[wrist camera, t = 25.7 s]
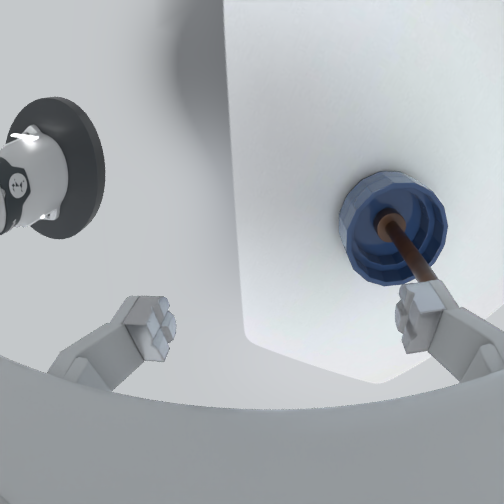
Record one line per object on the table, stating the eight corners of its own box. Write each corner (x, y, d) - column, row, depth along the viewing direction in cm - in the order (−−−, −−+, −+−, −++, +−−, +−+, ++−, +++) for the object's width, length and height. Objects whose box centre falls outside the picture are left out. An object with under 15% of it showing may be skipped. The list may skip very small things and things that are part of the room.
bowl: (337, 266, 42) (344, 289, 37) (337, 171, 35) (346, 184, 30) (422, 259, 40) (436, 280, 34) (432, 170, 33) (453, 183, 27)
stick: (372, 237, 38) (417, 324, 23) (373, 208, 36) (427, 286, 20) (399, 235, 37) (453, 318, 22) (402, 207, 35) (466, 281, 20)
